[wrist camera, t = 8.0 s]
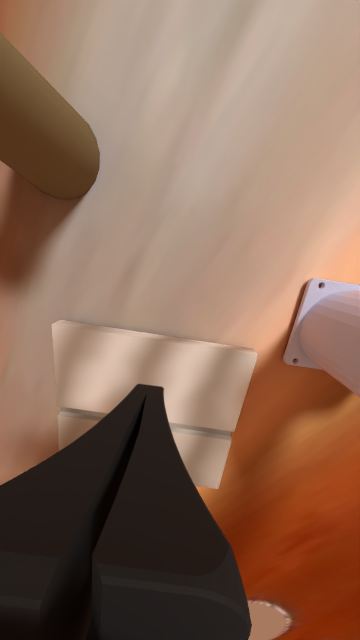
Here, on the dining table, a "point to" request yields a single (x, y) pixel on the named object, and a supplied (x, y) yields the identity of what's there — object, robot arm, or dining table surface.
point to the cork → (43, 131)
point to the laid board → (192, 441)
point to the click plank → (151, 372)
